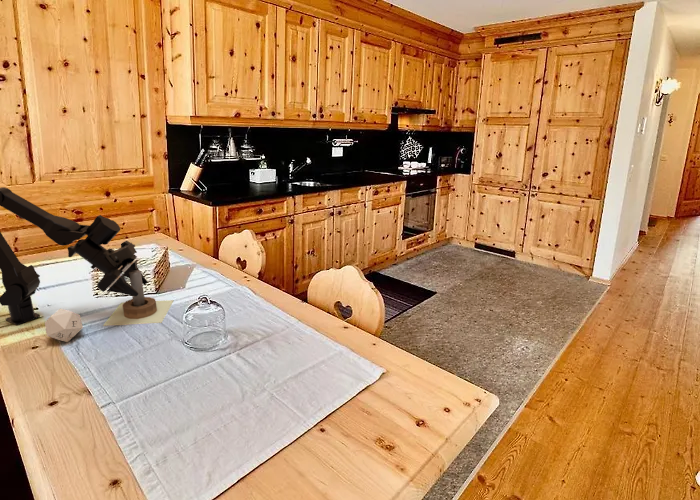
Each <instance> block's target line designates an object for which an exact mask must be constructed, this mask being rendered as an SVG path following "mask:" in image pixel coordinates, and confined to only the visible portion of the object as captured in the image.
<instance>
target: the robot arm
mask: <svg viewBox="0 0 700 500" xmlns="http://www.w3.org/2000/svg"><path fill="white" fill-rule="evenodd" d="M0 207H1V208H3V209H5V210H8V211H9V212H11V213H12V214H14V215H16V216H18V217H19V218H21V219H23V220H25V221H27V222H29V223H31V224H32V225H34V226H36V227H38V228H39V229H41V230H42V232H43V233H44V235H46V237H47V238H49V239H50V240H51V241H53V242H54V243H56V244H57V245H58V246H68V247H67V252H68V254H67V255H68V258H72V257H73V256H75V255H76V254H77V255H78V256H80V257H81V258H82V259H84V260H85V261H87V262H88V263H89V264H90V265H91V266H90V269H92V270H95V269H98V271H100V272H101V273H102V274H103V275H102V278H101V279H100V280H99V281H98V282H96V283H97V284H96V285H97V289H99V291H101V292H102V293H104V292H105V291H106V292H108V293H109V292H111V293H112V292H113V293H117V294H123V295H128V296H131V297H132V296H137V295H138V294H139V293H138V292H137V291H136V290H135V289H134V288H133V287H132V286H131V284H130V283H128V282H127V281H126V279H125V278H128V279H130V277H129V272H131V271H134V270H139V271H141V270H140V269H139V267H138V259H137V258H138V256H137V255H136V254H137V250H136V249H135V247H136V244H134V243H133V242H131V241H128V240H125V241H122V242H121V243H120V247H119V248H118V249H115V250H114V249H113V248H108V249H106V248H105V245H108V244H109V243H110V242H111V241H112V240H113V239H114V238H115V237H116V236H117V234H118V233H119V232H120V231H121V227H120V225H119V224H118V223H117V222H116V221H114V220H112V219H110V218H108V217H105V216H103V215H101V214H100V215H97V216H96V217H95V218H94V220H93V222H92V223H91V224H90V225H88V224H79V223H78V222H77V221H74V220H72V219H69V218H66V217H63V216H59V215H55V214H52V213H50V212H49V211H46V210H44V209H43V208H41V207H39V206H37V205H36V204H34V203H32V202H31V201H29V200H27V199H25V198H23V197H21V196H20V195H19V194H16V193H14V192H13V191H12V189H10V188H7V187H0ZM85 236H86V238H85V239H84V237H85ZM77 240H78V241H77ZM75 241H76V243H75V244H74V245H71V244H72V243H74V242H75ZM69 245H70V246H69ZM103 245H104V246H103ZM135 259H136V260H135ZM0 272H1V283H2V285H3V287H4V289H5V291H4V292H3V294H1V295H0V305H1V306H2V307H3V306H4V307H5V306H7V309H8V313H9V316H8V317H6V318H5V321H7V322H9V323H11V324H13V325H16V326H18V325H21V324H22V325H23V324H24V323H27V322H29V321H33V320H35V319H38V318H41V315H40V314H39V313H36V312H35V309H34V305H33V302H32V296H33V295H35V294H36V290H37V289H38V288H39V286H40V284H41V280H40V277H41V275H39V274H38V272H37V271H36V269H35V267H34V266H33V265H32V264H30V265H29V266H27V265H25V264H23V263H22V262H21V261H20V260H19V258H18V256H17V255H16V253H15V252H14V250H13V249H12V247H11V246H10V244H9V243H8V241H7V240H6V238H5V236H3V234H2V232H1V231H0ZM141 276H142V284H143V285H147V283H148V280H147V279H146V278H145V276H144V275H143V273H142V272H141Z"/></svg>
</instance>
